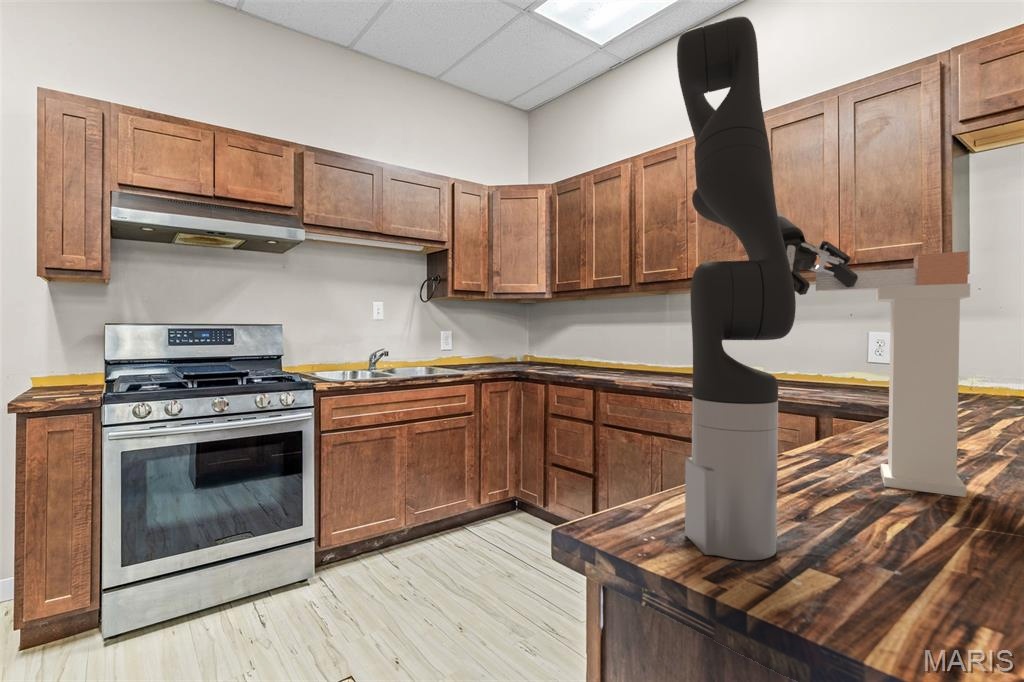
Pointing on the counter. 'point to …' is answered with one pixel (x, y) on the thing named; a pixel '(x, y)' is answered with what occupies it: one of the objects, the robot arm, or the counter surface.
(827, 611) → the counter surface
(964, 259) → the peg
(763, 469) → the robot arm
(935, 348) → the stand
